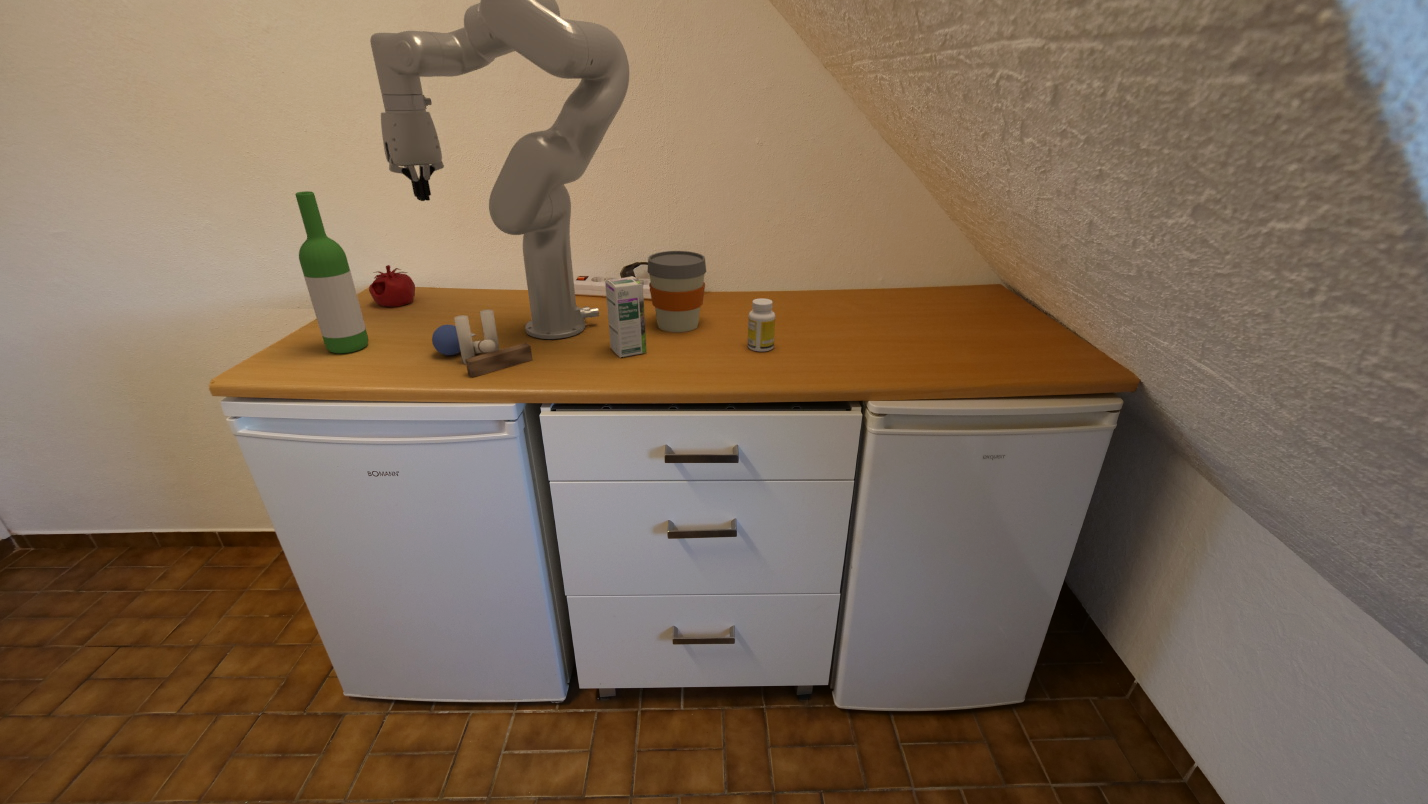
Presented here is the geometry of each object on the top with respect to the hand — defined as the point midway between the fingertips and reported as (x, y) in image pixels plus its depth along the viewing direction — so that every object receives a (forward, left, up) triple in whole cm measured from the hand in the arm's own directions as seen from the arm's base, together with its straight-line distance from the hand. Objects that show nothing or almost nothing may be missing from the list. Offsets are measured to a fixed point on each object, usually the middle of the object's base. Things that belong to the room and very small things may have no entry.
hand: (423, 199), depth 133 cm
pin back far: (-1, +32, -25) cm, 41 cm away
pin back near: (-6, +31, -25) cm, 40 cm away
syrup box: (-30, +40, -25) cm, 56 cm away
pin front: (-2, +28, -24) cm, 37 cm away
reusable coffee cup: (-45, +31, -25) cm, 60 cm away
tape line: (0, +19, -25) cm, 31 cm away
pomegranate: (+10, -12, -25) cm, 30 cm away
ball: (+2, +26, -22) cm, 35 cm away
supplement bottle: (-55, +50, -25) cm, 79 cm away
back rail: (-6, +37, -25) cm, 45 cm away
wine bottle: (+20, +14, -25) cm, 35 cm away
